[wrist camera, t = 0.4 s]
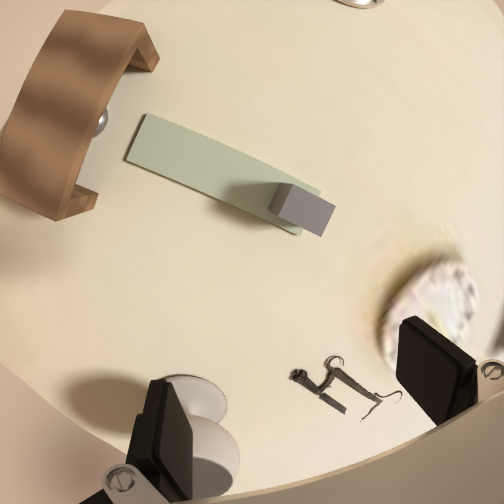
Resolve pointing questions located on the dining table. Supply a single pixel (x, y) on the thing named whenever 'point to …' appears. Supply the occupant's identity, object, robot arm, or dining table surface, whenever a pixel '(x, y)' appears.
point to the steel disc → (101, 123)
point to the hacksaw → (305, 381)
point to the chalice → (208, 436)
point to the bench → (67, 109)
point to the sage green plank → (229, 176)
